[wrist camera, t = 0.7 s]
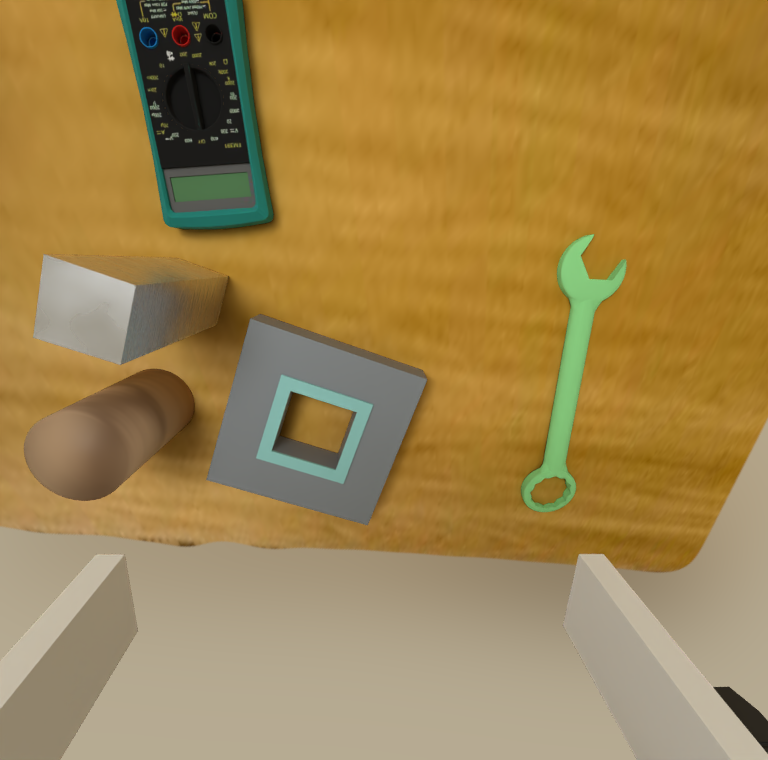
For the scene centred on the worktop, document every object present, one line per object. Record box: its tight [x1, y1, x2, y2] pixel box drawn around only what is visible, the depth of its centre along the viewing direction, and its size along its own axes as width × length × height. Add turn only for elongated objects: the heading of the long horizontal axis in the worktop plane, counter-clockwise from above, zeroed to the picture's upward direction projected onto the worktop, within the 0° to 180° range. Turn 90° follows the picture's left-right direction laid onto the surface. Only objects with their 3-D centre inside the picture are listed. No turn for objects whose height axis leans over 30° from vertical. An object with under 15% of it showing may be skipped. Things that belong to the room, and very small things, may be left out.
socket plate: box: [207, 314, 427, 525], centre depth 33 cm, size 14×14×3 cm
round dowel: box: [24, 369, 194, 501], centre depth 28 cm, size 6×6×10 cm
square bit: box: [33, 254, 229, 365], centre depth 25 cm, size 4×4×13 cm
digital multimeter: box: [116, 0, 273, 229], centre depth 27 cm, size 7×15×3 cm, turn 4°
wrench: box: [521, 234, 626, 512], centre depth 34 cm, size 25×2×5 cm
